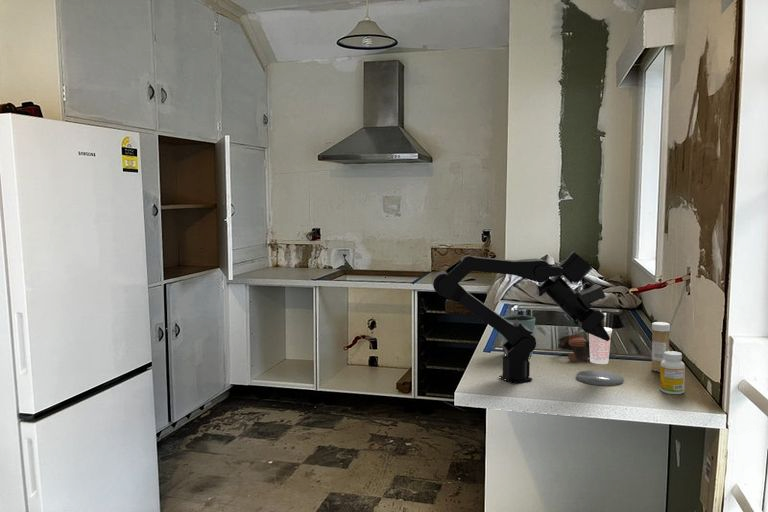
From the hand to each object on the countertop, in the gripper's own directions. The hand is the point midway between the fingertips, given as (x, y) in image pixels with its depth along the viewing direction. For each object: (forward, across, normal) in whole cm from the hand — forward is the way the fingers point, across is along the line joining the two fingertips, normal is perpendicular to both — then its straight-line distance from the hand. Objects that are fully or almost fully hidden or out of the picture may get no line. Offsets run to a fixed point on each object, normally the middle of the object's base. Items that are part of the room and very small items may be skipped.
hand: (604, 337), depth 159 cm
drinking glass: (-4, +25, +21) cm, 33 cm away
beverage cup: (+4, 0, +6) cm, 7 cm away
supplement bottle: (+18, -11, -1) cm, 21 cm away
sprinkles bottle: (+20, +7, -4) cm, 22 cm away
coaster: (+7, 0, +9) cm, 11 cm away
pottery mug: (+8, +22, +9) cm, 25 cm away
